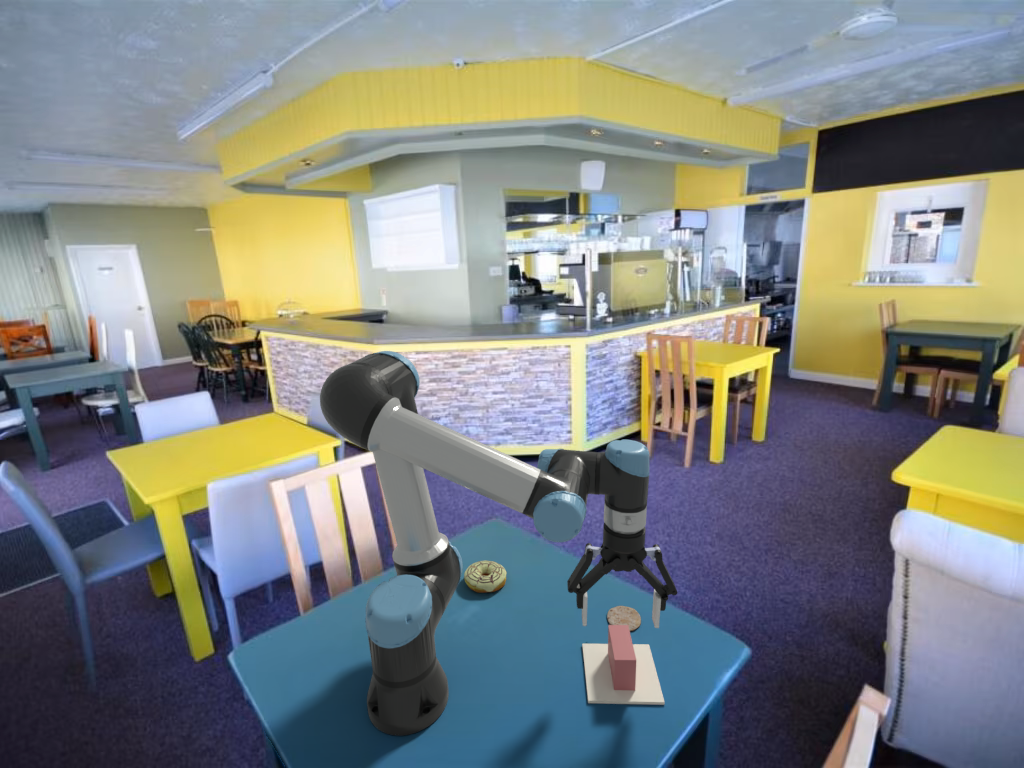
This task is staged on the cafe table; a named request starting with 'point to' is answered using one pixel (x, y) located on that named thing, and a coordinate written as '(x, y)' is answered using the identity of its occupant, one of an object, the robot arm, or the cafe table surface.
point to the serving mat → (602, 681)
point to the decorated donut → (485, 576)
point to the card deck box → (621, 657)
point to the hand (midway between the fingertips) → (619, 622)
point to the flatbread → (624, 617)
